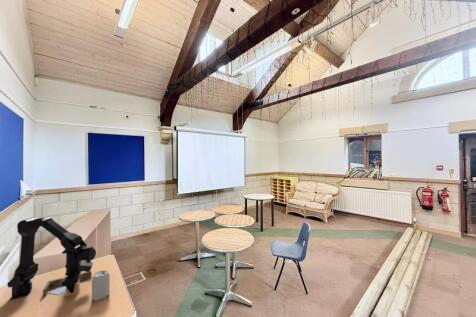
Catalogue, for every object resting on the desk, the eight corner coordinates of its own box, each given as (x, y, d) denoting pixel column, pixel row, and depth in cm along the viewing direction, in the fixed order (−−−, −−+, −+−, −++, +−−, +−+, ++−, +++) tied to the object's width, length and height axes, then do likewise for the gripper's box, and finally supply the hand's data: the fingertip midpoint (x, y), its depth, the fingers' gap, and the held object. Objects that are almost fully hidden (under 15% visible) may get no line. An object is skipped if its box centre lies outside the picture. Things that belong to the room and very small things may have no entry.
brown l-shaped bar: (42, 296, 103) (43, 289, 103) (48, 287, 110) (48, 281, 110) (89, 284, 113) (89, 277, 113) (91, 276, 121) (91, 270, 121)
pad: (58, 295, 104) (58, 294, 104) (48, 293, 105) (48, 292, 105) (72, 286, 111) (72, 286, 111) (62, 285, 112) (62, 285, 112)
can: (112, 294, 104) (112, 270, 104) (97, 303, 97) (97, 278, 97) (103, 290, 107) (103, 268, 107) (88, 299, 100) (88, 275, 100)
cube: (65, 296, 103) (65, 286, 103) (67, 291, 107) (67, 281, 107) (78, 292, 105) (78, 283, 105) (79, 288, 109) (79, 278, 110)
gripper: (89, 263, 103) (89, 294, 102) (93, 250, 119) (93, 277, 118) (61, 270, 97) (61, 302, 96) (69, 255, 113) (68, 283, 112)
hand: (72, 290), depth 106 cm, fingers closed on cube, 5 cm apart
